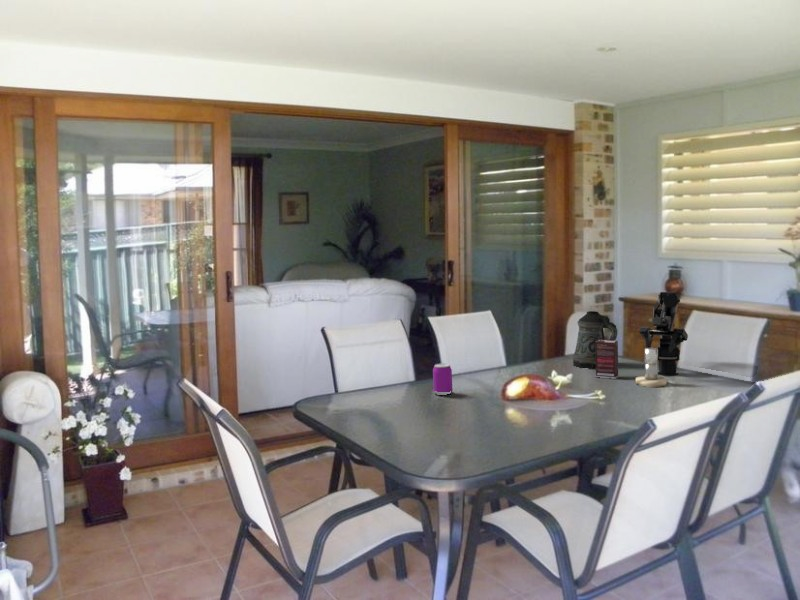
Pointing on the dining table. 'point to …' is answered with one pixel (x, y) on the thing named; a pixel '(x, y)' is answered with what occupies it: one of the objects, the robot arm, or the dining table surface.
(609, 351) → the supplement box
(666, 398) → the dining table surface
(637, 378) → the birch stand
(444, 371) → the beverage can
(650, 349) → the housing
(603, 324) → the beer stein
